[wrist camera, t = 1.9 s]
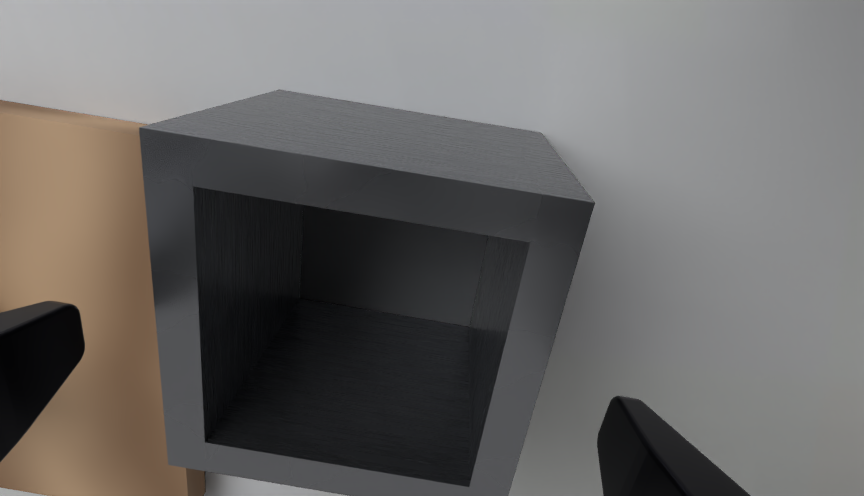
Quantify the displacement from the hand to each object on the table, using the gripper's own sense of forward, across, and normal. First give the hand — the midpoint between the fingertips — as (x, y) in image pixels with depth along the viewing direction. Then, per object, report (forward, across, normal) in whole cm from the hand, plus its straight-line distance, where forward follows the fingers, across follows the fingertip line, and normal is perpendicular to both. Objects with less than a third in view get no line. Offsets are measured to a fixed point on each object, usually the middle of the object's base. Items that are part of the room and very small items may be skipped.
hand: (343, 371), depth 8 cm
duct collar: (+7, 0, 0) cm, 7 cm away
